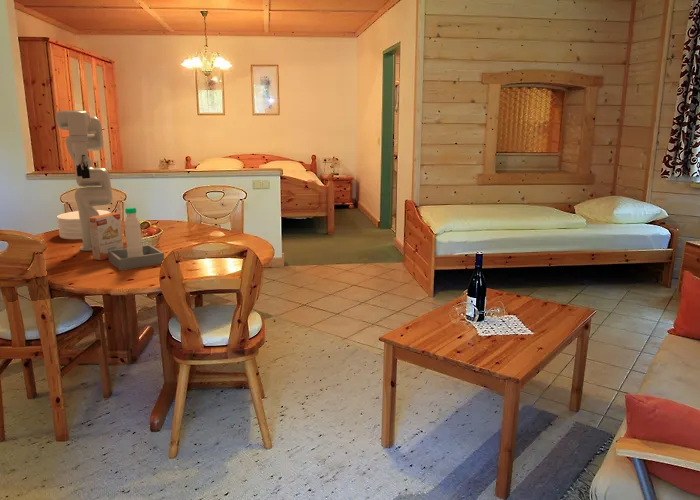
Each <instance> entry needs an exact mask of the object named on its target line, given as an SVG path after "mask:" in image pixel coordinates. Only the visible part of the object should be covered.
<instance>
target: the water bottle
mask: <svg viewBox="0 0 700 500" xmlns="http://www.w3.org/2000/svg"><path fill="white" fill-rule="evenodd" d="M124 210H125V214H126V218H125V220H124V222H123V227H124V235H125V243H126V248H127V252H128V258H130V257H137V256H143V247H142V246H143V243H142V242H143V240H142V230H141V222H140V220H139V217H138V216H137V208H136V207H134V206H133V207H127V208H125V209H124Z"/></svg>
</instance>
